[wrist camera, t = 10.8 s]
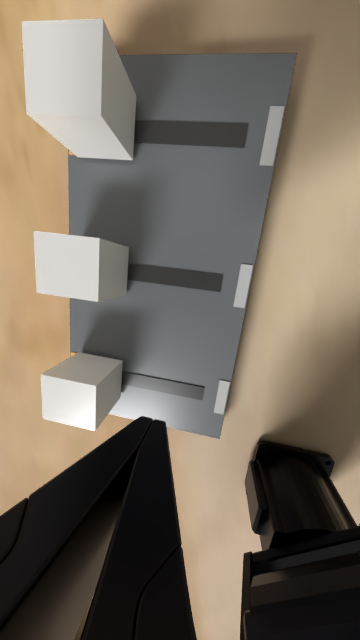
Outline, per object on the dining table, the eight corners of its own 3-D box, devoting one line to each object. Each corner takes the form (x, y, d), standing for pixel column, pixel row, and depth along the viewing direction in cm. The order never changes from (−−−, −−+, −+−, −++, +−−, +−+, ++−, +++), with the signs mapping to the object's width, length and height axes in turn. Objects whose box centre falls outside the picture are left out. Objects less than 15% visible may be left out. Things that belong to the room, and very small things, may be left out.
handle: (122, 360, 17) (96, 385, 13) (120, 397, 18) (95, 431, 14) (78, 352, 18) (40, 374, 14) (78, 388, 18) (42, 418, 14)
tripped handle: (136, 95, 13) (102, 18, 9) (132, 160, 14) (100, 115, 10) (77, 94, 13) (21, 21, 9) (77, 157, 14) (26, 113, 10)
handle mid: (129, 247, 15) (99, 238, 11) (126, 295, 16) (98, 301, 12) (78, 241, 15) (33, 230, 12) (78, 288, 16) (36, 292, 12)
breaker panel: (284, 84, 13) (297, 50, 11) (218, 422, 19) (219, 439, 17) (86, 83, 15) (66, 53, 13) (83, 393, 21) (70, 406, 19)
